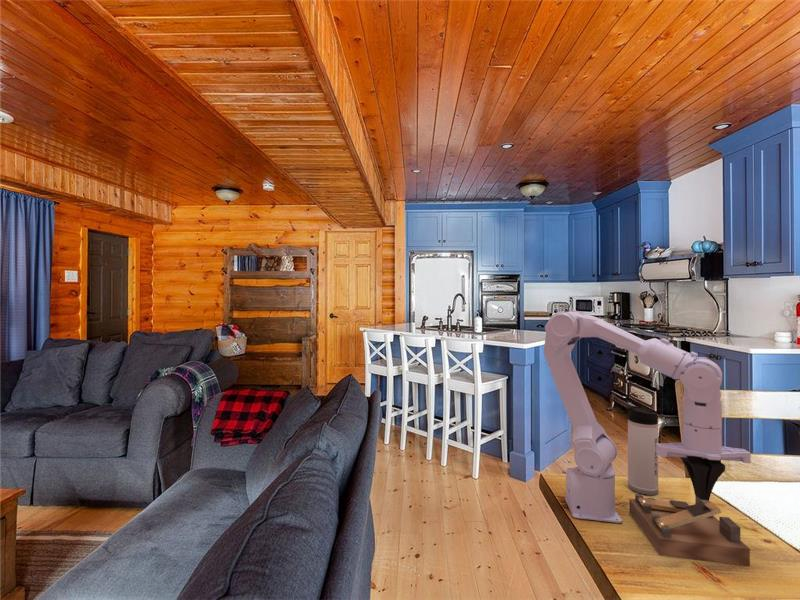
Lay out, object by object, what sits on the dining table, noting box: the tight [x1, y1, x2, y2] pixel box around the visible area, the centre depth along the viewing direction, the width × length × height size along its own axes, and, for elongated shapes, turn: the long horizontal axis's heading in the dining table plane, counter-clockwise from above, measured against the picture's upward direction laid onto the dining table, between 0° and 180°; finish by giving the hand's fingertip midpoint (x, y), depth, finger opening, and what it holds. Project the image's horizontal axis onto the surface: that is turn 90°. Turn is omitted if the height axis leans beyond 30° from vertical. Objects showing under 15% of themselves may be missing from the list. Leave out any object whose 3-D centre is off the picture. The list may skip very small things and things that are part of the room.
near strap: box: [655, 501, 722, 529], centre depth 70 cm, size 10×3×1 cm, turn 78°
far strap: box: [638, 497, 692, 512], centre depth 78 cm, size 10×3×1 cm, turn 78°
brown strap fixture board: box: [628, 493, 751, 567], centre depth 74 cm, size 14×14×6 cm
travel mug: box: [626, 405, 659, 496], centre depth 93 cm, size 6×7×20 cm
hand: (701, 497), depth 71 cm, fingers closed
